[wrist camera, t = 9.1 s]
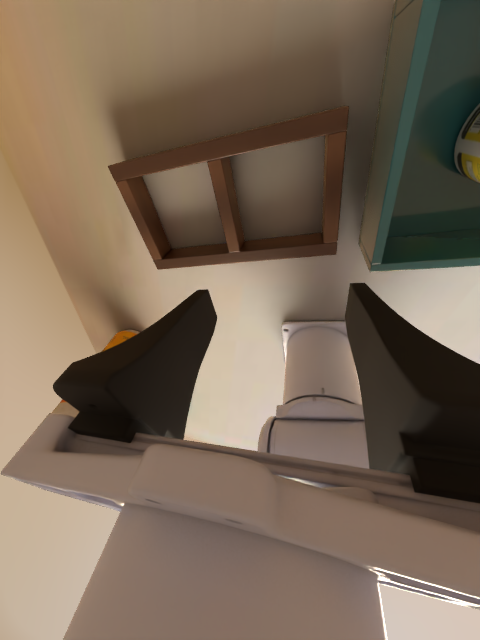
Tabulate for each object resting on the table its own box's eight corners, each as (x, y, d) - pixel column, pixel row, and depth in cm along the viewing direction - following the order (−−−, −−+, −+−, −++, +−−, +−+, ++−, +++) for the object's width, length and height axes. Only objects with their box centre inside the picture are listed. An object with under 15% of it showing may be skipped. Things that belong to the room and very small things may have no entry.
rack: (333, 242, 19) (336, 254, 17) (167, 258, 24) (157, 269, 22) (343, 106, 14) (349, 106, 12) (124, 160, 18) (107, 166, 16)
